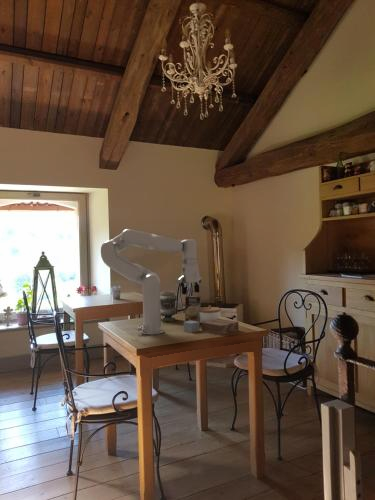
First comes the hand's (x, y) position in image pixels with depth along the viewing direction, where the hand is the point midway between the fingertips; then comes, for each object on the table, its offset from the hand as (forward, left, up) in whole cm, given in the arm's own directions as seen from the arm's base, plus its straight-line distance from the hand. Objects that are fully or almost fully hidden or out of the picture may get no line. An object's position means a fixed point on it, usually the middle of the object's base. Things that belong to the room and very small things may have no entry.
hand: (190, 293), depth 210 cm
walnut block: (+10, -12, -21) cm, 26 cm away
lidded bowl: (+19, +4, -21) cm, 28 cm away
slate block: (0, 0, -21) cm, 21 cm away
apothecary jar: (+12, +33, -21) cm, 41 cm away
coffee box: (+15, +14, -21) cm, 29 cm away
